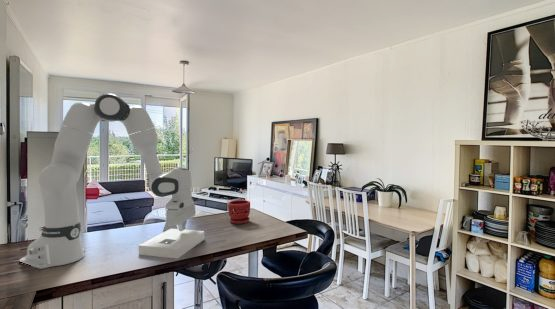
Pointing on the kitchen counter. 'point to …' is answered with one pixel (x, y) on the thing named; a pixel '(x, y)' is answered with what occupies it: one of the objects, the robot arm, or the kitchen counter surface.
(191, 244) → the hole board
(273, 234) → the kitchen counter surface
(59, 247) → the robot arm
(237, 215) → the plant pot
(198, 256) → the kitchen counter surface
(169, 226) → the flask
